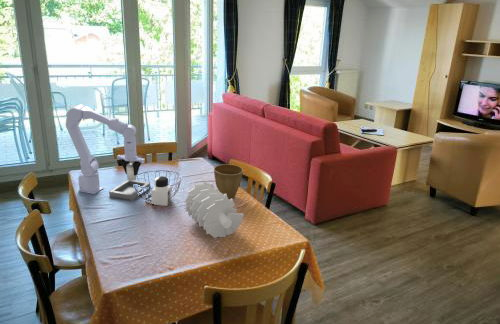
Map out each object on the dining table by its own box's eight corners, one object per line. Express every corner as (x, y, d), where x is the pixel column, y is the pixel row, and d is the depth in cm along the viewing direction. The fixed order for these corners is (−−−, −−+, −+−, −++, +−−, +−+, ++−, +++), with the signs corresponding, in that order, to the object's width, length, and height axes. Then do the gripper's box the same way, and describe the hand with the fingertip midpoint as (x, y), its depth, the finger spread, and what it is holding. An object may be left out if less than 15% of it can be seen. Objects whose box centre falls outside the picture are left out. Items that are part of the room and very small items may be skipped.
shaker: (125, 179, 193) (124, 165, 190) (130, 176, 197) (129, 162, 194) (133, 181, 192) (132, 166, 189) (137, 177, 196) (136, 163, 193)
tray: (109, 196, 189) (109, 191, 188) (128, 184, 204) (128, 179, 203) (132, 201, 186) (132, 195, 185) (150, 188, 201) (149, 182, 200)
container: (171, 199, 190) (171, 175, 186) (167, 206, 183) (166, 181, 179) (156, 198, 191) (156, 174, 186) (151, 204, 184) (150, 180, 179)
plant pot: (229, 206, 186) (230, 177, 181) (207, 197, 194) (207, 168, 189) (247, 197, 198) (249, 169, 192) (225, 189, 206) (227, 161, 200)
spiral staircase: (216, 251, 157) (190, 222, 176) (250, 226, 163) (221, 200, 181) (201, 221, 146) (175, 194, 165) (237, 196, 152) (208, 172, 171)
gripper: (112, 149, 187) (114, 174, 192) (139, 153, 184) (140, 179, 189) (121, 145, 194) (122, 170, 198) (146, 149, 190) (147, 174, 195)
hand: (131, 174), depth 194 cm, fingers closed on shaker, 4 cm apart
